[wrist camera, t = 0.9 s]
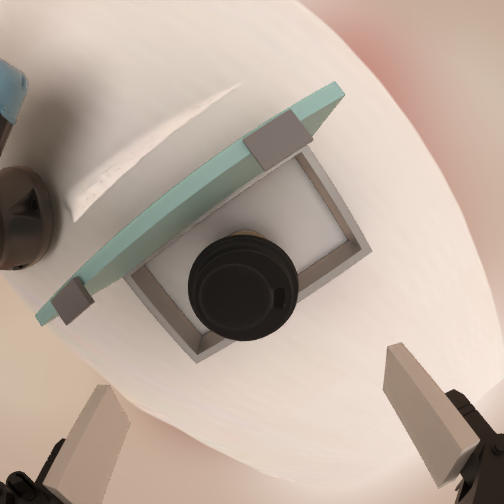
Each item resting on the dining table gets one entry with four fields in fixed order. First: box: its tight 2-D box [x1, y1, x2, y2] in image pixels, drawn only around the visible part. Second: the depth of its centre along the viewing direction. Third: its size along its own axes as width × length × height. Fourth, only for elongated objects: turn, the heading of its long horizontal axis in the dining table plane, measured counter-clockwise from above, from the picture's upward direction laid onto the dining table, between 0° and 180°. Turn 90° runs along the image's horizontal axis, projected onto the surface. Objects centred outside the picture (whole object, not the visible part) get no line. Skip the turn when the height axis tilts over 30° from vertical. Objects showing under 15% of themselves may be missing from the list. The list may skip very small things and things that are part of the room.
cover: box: [35, 81, 345, 326], centre depth 23 cm, size 16×26×2 cm
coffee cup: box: [188, 230, 299, 341], centre depth 30 cm, size 9×9×15 cm
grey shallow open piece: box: [123, 145, 372, 364], centre depth 35 cm, size 15×26×5 cm, turn 125°
